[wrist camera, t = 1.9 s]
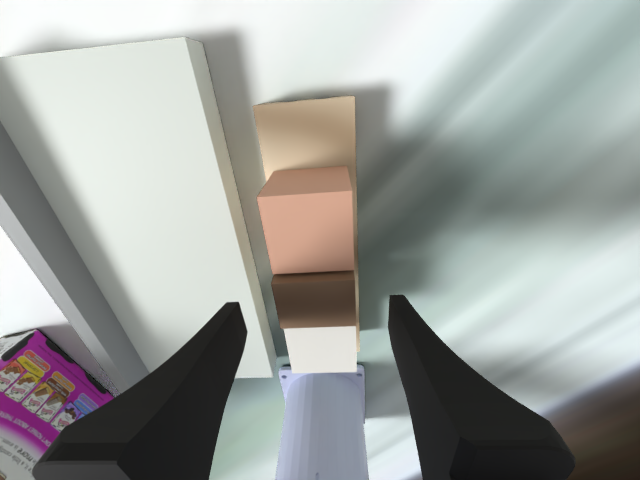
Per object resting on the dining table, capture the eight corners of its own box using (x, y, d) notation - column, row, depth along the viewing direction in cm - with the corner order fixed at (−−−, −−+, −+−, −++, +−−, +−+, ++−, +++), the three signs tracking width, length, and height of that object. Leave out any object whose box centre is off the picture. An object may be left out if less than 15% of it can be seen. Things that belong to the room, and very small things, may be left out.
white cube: (352, 323, 20) (356, 372, 17) (298, 325, 21) (292, 373, 17) (351, 279, 19) (355, 324, 15) (292, 282, 19) (283, 327, 15)
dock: (276, 357, 26) (268, 400, 22) (153, 360, 26) (126, 402, 23) (202, 43, 14) (160, 28, 11) (-13, 66, 15) (-118, 60, 11)
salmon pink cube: (349, 231, 17) (354, 270, 13) (284, 235, 17) (272, 274, 14) (347, 165, 15) (352, 190, 11) (273, 171, 15) (256, 197, 12)
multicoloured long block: (357, 327, 24) (366, 409, 18) (300, 329, 24) (290, 410, 18) (351, 95, 15) (365, 100, 9) (263, 103, 16) (221, 113, 10)
